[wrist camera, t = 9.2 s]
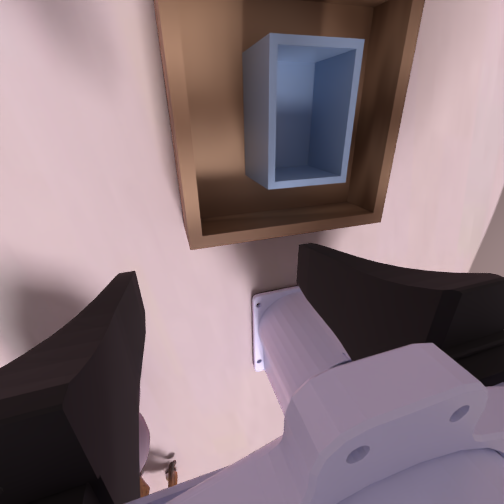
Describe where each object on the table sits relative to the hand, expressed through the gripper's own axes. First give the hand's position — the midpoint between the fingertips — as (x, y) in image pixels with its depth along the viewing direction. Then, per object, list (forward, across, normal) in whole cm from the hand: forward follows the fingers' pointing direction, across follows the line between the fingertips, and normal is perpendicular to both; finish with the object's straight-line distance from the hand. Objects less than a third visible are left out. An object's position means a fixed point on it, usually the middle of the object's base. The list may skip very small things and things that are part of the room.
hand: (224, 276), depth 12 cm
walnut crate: (+9, -6, -6) cm, 13 cm away
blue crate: (+9, -6, -6) cm, 12 cm away
